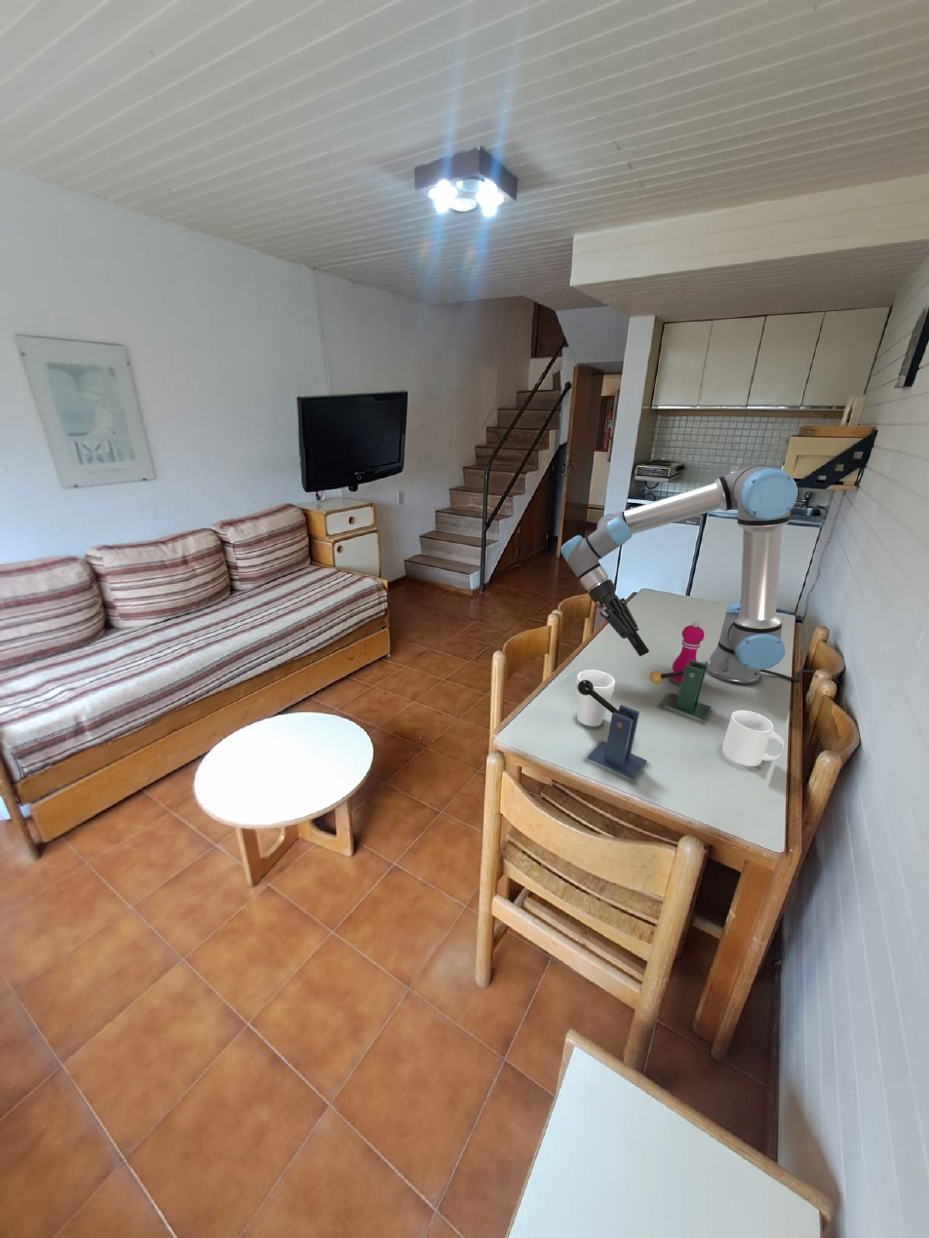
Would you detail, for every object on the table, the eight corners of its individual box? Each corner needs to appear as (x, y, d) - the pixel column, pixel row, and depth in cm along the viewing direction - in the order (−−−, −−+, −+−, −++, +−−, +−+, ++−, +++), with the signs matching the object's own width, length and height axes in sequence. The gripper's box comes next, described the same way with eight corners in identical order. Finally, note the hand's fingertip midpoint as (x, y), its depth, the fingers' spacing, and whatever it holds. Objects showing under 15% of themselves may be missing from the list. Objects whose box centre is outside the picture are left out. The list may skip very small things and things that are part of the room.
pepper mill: (690, 676, 155) (704, 617, 147) (698, 688, 148) (713, 627, 140) (666, 674, 155) (679, 616, 147) (673, 686, 148) (687, 625, 141)
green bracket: (660, 707, 137) (670, 663, 132) (670, 696, 143) (680, 653, 138) (702, 722, 131) (714, 677, 126) (710, 710, 137) (722, 666, 131)
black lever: (572, 690, 115) (579, 680, 113) (579, 684, 117) (586, 674, 115) (622, 732, 109) (631, 722, 107) (628, 725, 112) (637, 715, 110)
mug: (777, 780, 111) (791, 741, 107) (719, 761, 116) (730, 723, 112) (776, 758, 118) (790, 721, 114) (721, 742, 123) (732, 706, 119)
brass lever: (649, 686, 140) (645, 674, 140) (654, 681, 143) (650, 670, 142) (700, 679, 130) (695, 666, 130) (704, 674, 133) (699, 661, 133)
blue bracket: (587, 760, 115) (595, 710, 110) (601, 744, 121) (610, 696, 116) (632, 782, 109) (643, 730, 103) (645, 764, 115) (656, 714, 109)
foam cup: (579, 733, 125) (586, 689, 120) (565, 713, 133) (571, 671, 128) (614, 730, 127) (622, 686, 122) (597, 710, 135) (604, 668, 130)
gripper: (598, 586, 150) (642, 651, 147) (578, 597, 141) (625, 667, 138) (617, 573, 145) (663, 641, 142) (598, 583, 136) (647, 656, 133)
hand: (644, 653), depth 140 cm, fingers closed
